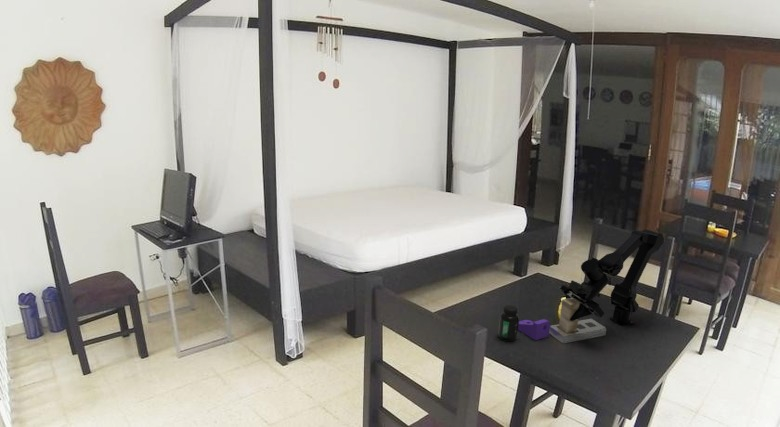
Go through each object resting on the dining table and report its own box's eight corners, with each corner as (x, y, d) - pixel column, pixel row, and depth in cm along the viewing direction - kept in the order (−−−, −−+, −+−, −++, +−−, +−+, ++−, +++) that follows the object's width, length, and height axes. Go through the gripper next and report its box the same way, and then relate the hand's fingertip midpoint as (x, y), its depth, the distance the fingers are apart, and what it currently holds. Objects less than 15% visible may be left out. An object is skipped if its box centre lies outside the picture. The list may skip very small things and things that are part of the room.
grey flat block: (590, 325, 194) (591, 318, 193) (605, 335, 187) (606, 327, 186) (548, 333, 187) (549, 325, 186) (562, 343, 180) (563, 335, 179)
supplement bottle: (505, 343, 179) (508, 313, 176) (494, 334, 185) (497, 305, 182) (520, 340, 182) (524, 310, 178) (509, 331, 188) (512, 302, 184)
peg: (567, 329, 188) (572, 297, 184) (575, 334, 184) (580, 303, 180) (558, 330, 186) (562, 299, 183) (566, 336, 182) (570, 304, 179)
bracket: (548, 337, 185) (550, 320, 183) (535, 341, 182) (537, 324, 180) (525, 323, 195) (527, 307, 193) (512, 327, 192) (514, 311, 190)
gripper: (566, 264, 189) (539, 294, 188) (602, 283, 172) (573, 317, 171) (580, 281, 193) (553, 310, 193) (616, 301, 177) (588, 333, 176)
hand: (566, 317), depth 183 cm, fingers closed on peg, 4 cm apart
